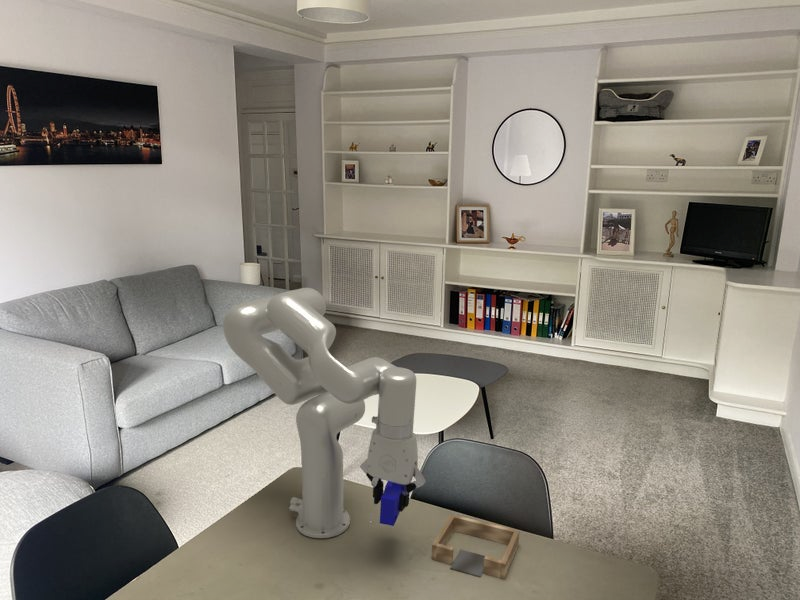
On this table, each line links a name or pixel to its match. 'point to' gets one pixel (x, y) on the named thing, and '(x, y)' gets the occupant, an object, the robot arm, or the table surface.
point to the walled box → (473, 561)
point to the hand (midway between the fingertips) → (390, 503)
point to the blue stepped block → (390, 503)
